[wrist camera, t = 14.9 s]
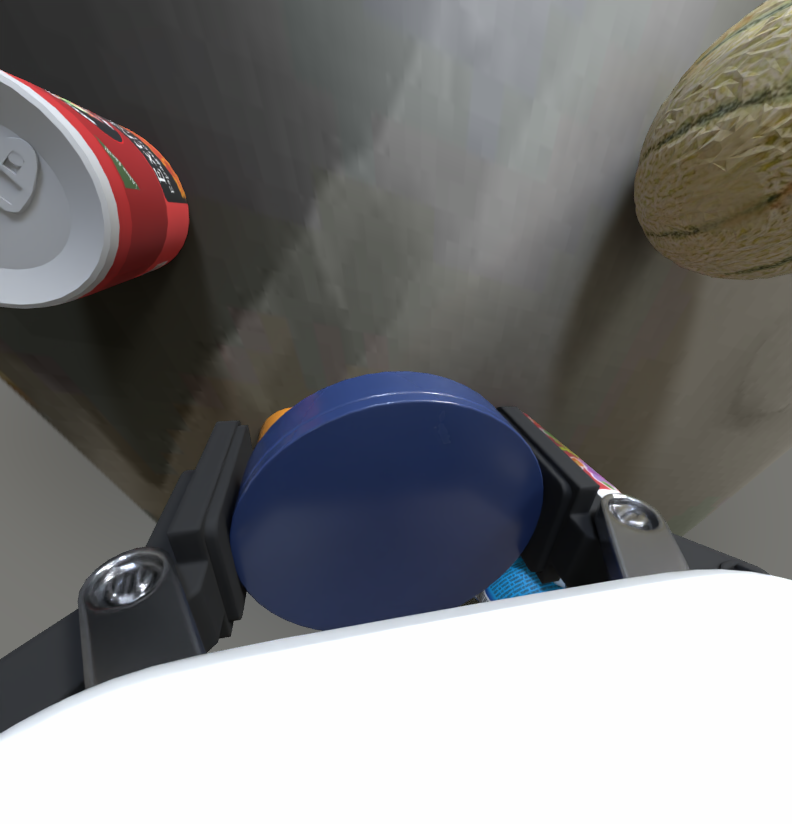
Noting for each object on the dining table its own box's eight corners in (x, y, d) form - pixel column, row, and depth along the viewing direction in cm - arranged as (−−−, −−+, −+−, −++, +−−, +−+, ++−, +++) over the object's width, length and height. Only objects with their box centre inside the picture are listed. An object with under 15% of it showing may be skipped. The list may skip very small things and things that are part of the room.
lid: (478, 575, 12) (497, 617, 11) (249, 599, 10) (241, 652, 9) (550, 376, 9) (591, 404, 7) (228, 360, 7) (209, 394, 6)
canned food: (212, 181, 22) (140, 158, 13) (168, 295, 24) (80, 346, 15) (63, 84, 19) (-185, -46, 9) (29, 226, 21) (-194, 236, 12)
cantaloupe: (598, 294, 31) (796, 350, 19) (575, 93, 24) (886, -47, 11) (752, 215, 31) (1066, 217, 18) (780, -18, 23) (1359, -300, 10)
